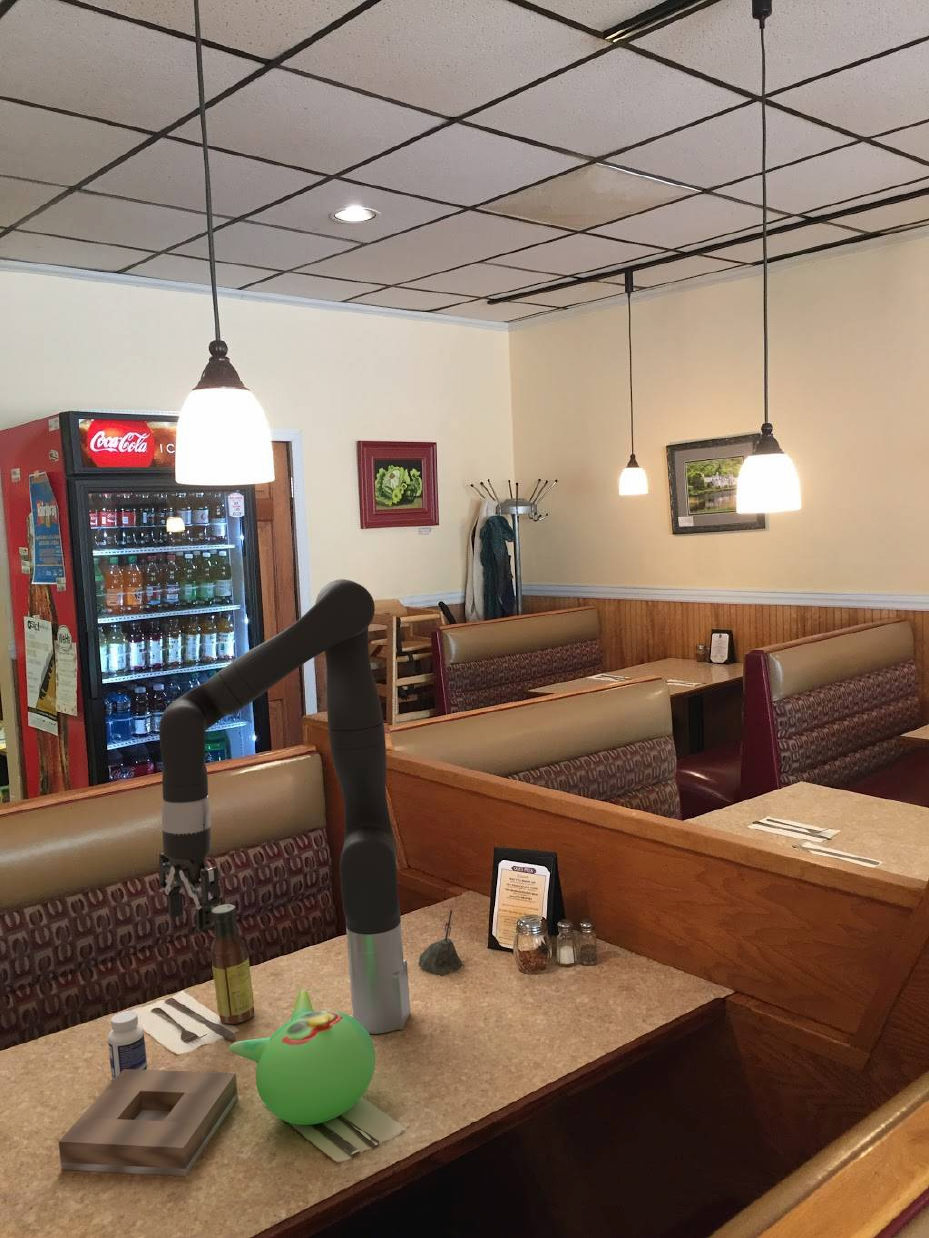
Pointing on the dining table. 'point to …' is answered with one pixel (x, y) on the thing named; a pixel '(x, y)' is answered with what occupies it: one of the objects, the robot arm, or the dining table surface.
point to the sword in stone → (441, 956)
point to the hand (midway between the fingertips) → (189, 922)
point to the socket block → (149, 1122)
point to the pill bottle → (126, 1043)
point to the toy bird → (311, 1064)
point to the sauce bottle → (231, 968)
